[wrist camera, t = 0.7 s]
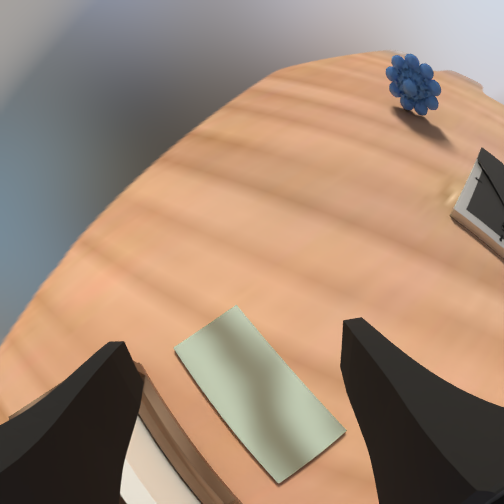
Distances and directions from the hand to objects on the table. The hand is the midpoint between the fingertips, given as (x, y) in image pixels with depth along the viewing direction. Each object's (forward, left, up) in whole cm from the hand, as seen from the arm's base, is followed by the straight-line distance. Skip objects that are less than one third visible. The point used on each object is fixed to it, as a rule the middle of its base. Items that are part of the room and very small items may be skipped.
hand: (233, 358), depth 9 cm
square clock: (+30, -31, -17) cm, 47 cm away
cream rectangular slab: (-7, +6, -15) cm, 18 cm away
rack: (-6, +6, -16) cm, 18 cm away
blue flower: (+52, -16, -16) cm, 57 cm away
